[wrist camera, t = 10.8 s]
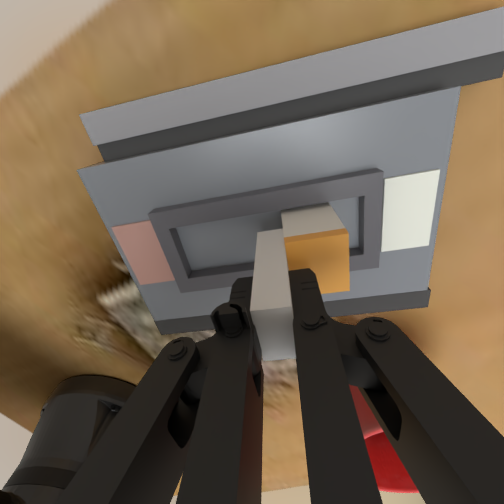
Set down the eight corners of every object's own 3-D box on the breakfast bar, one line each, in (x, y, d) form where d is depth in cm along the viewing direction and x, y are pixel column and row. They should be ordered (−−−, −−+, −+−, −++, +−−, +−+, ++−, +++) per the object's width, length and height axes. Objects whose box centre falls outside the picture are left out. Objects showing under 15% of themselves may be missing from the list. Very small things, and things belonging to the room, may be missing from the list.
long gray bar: (167, 321, 26) (161, 334, 25) (156, 298, 25) (149, 311, 23) (416, 293, 23) (427, 307, 21) (420, 265, 21) (432, 277, 20)
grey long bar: (116, 160, 18) (102, 164, 17) (96, 114, 17) (78, 114, 15) (483, 79, 15) (508, 76, 13) (496, 13, 14) (526, 0, 12)
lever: (287, 255, 18) (293, 297, 14) (280, 210, 16) (284, 243, 12) (331, 249, 17) (349, 290, 13) (328, 201, 16) (348, 233, 12)
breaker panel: (166, 298, 25) (150, 329, 21) (103, 161, 19) (65, 173, 15) (408, 268, 21) (434, 298, 18) (428, 89, 15) (474, 84, 12)
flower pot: (297, 364, 28) (309, 472, 20) (362, 299, 23) (415, 406, 15) (372, 395, 30) (412, 505, 22) (447, 341, 25) (536, 456, 17)
